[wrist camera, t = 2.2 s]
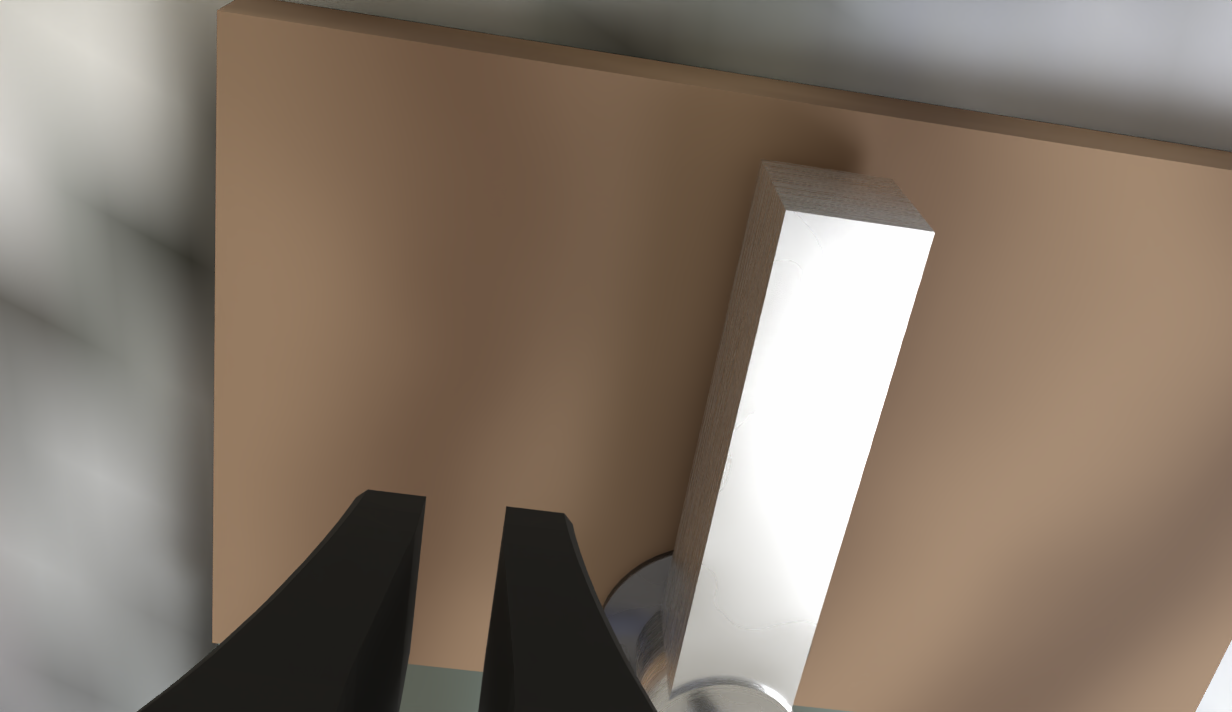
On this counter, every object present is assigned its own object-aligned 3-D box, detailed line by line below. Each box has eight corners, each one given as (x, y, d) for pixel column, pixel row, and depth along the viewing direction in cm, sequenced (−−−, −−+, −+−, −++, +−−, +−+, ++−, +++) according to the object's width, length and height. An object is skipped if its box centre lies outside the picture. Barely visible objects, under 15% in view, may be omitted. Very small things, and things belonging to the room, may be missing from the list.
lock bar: (760, 711, 21) (780, 818, 19) (624, 697, 21) (629, 803, 19) (912, 182, 17) (961, 240, 15) (741, 155, 17) (765, 212, 14)
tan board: (227, 949, 27) (209, 1005, 26) (243, -5, 17) (216, 10, 16) (995, 1013, 29) (1014, 1068, 27) (1394, 178, 19) (1451, 204, 18)
